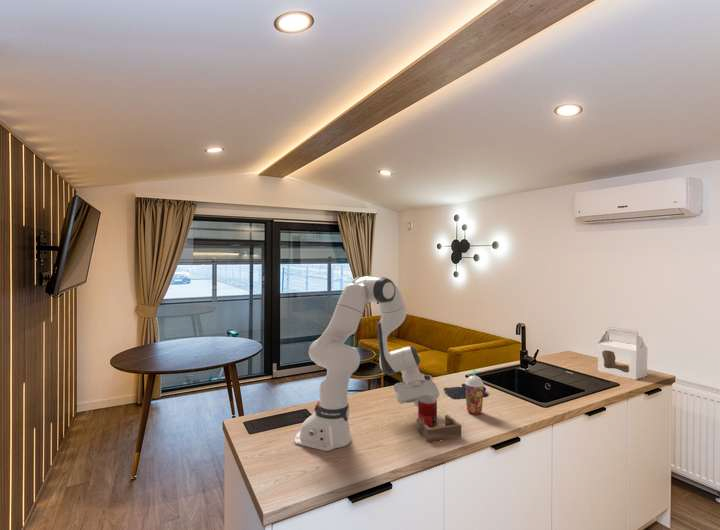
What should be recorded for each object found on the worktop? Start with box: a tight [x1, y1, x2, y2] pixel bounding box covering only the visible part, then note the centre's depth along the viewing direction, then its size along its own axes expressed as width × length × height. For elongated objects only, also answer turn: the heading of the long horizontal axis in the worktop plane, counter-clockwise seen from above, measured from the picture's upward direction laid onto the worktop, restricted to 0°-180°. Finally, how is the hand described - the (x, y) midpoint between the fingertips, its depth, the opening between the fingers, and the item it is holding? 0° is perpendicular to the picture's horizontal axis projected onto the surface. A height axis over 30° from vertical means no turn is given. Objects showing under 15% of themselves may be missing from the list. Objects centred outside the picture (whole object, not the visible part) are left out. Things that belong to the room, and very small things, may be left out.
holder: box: [416, 414, 462, 443], centre depth 157 cm, size 11×14×5 cm
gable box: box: [597, 326, 648, 380], centre depth 237 cm, size 22×13×28 cm, turn 31°
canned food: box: [417, 396, 438, 428], centre depth 166 cm, size 8×8×11 cm
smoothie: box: [464, 369, 485, 416], centre depth 178 cm, size 8×8×20 cm
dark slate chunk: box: [443, 383, 489, 400], centre depth 204 cm, size 15×22×5 cm
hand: (422, 410), depth 171 cm, fingers closed, pressing on canned food
